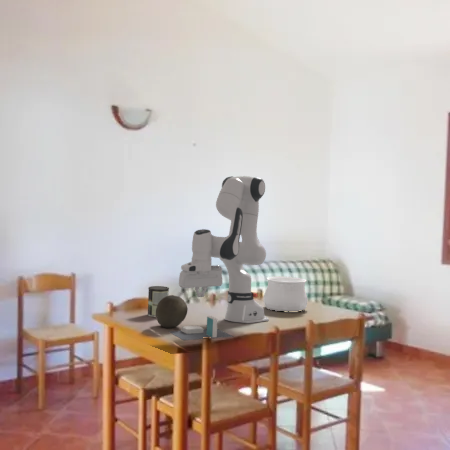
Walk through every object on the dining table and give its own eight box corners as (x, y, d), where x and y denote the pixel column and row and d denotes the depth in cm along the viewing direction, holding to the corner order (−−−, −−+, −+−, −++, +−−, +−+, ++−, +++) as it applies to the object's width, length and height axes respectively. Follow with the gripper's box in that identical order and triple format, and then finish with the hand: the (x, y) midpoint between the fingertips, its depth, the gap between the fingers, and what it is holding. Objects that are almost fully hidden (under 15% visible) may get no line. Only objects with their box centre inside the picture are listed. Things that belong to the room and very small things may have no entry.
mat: (216, 329, 293) (216, 328, 293) (233, 337, 278) (233, 336, 278) (168, 332, 282) (168, 331, 282) (183, 341, 267) (183, 340, 267)
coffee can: (143, 315, 318) (144, 287, 317) (155, 312, 327) (156, 285, 326) (159, 318, 313) (160, 289, 312) (172, 315, 322) (173, 287, 321)
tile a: (197, 325, 287) (181, 326, 283) (203, 328, 282) (187, 329, 278) (197, 330, 287) (181, 331, 284) (203, 332, 282) (186, 334, 278)
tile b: (210, 334, 280) (211, 316, 280) (216, 337, 275) (217, 318, 275) (206, 334, 279) (207, 316, 279) (212, 337, 274) (213, 319, 274)
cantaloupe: (165, 332, 282) (166, 299, 281) (149, 326, 294) (151, 294, 293) (192, 329, 290) (193, 297, 290) (175, 323, 302) (177, 292, 301)
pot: (305, 315, 338) (307, 283, 337) (260, 311, 343) (261, 280, 342) (308, 306, 363) (309, 277, 363) (265, 303, 368) (267, 274, 367)
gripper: (219, 264, 290) (218, 294, 291) (177, 266, 281) (177, 296, 282) (225, 266, 285) (224, 296, 286) (183, 268, 275) (182, 299, 276)
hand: (200, 296), depth 284 cm, fingers closed
